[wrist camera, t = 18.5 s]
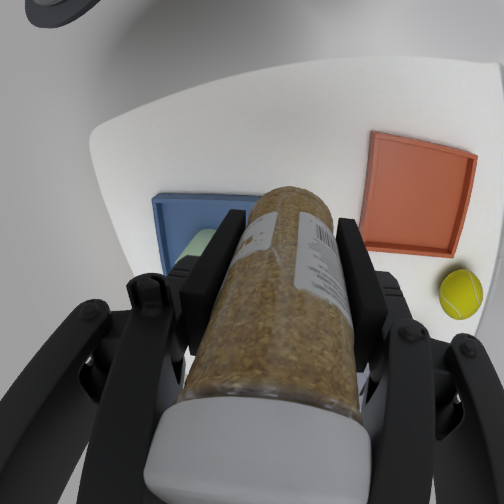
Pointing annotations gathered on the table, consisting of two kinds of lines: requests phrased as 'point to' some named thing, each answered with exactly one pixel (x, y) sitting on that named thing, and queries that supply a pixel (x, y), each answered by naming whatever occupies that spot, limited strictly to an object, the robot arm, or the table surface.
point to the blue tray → (190, 219)
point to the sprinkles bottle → (271, 376)
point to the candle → (198, 243)
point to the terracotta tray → (415, 196)
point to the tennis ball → (461, 294)
